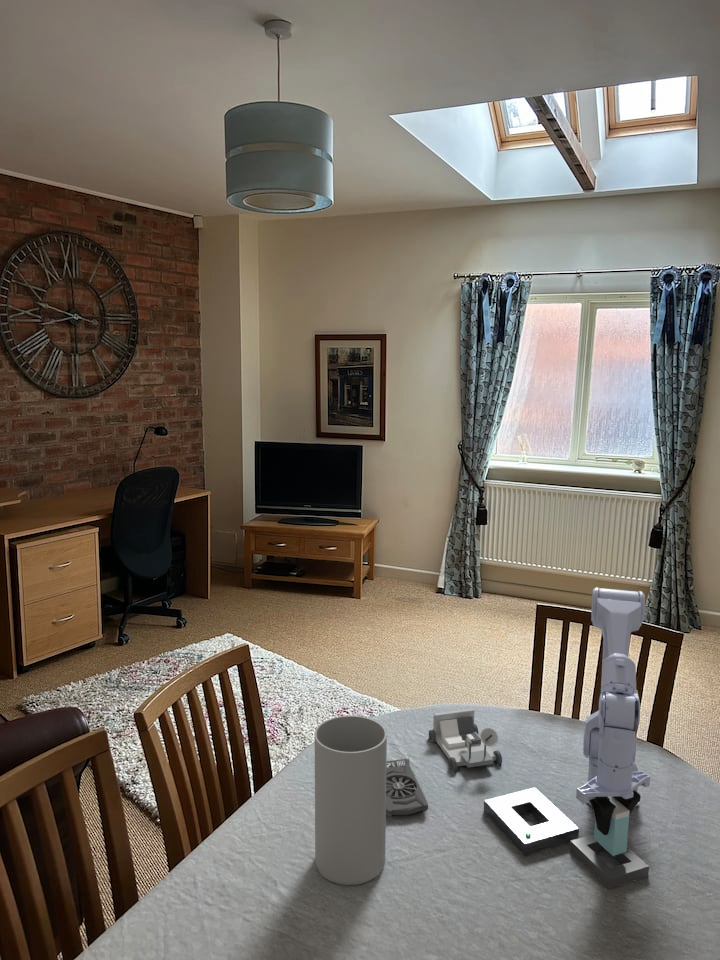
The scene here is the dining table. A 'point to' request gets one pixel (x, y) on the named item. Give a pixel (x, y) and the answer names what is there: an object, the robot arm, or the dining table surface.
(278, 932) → the dining table surface
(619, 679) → the robot arm
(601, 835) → the plug
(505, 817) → the port panel
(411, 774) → the graphics card
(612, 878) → the holster
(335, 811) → the cylinder vase
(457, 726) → the toy car
